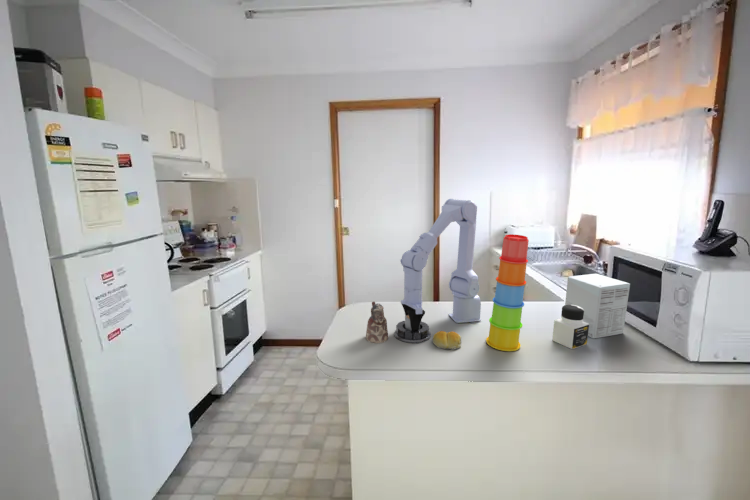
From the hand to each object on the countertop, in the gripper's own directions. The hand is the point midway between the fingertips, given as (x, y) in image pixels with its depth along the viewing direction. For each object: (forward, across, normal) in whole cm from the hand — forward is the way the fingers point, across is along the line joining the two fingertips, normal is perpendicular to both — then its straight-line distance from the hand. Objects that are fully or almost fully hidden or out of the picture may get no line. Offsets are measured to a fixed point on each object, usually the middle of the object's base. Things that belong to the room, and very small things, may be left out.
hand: (412, 326), depth 123 cm
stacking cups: (+3, +12, +26) cm, 29 cm away
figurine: (+3, 0, -12) cm, 12 cm away
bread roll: (+3, +8, +9) cm, 13 cm away
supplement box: (+3, +7, +62) cm, 62 cm away
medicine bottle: (+3, +15, +47) cm, 49 cm away
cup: (+2, 0, 0) cm, 2 cm away
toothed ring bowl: (+3, 0, 0) cm, 3 cm away
